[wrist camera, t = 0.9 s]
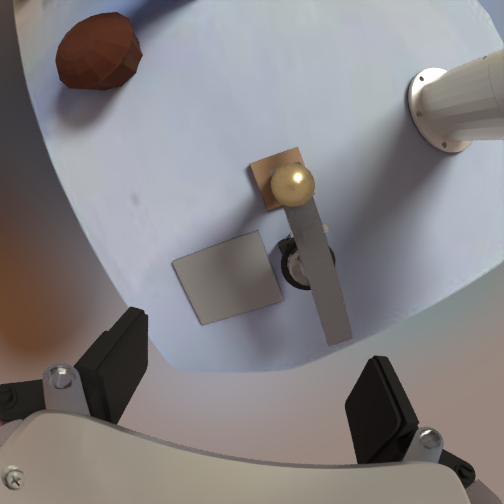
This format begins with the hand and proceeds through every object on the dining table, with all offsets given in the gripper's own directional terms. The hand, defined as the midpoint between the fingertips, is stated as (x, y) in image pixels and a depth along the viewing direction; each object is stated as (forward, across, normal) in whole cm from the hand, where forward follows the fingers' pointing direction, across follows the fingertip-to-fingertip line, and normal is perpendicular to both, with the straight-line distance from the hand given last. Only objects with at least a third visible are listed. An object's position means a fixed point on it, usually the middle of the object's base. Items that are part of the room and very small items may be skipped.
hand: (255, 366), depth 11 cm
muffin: (+26, +25, -19) cm, 41 cm away
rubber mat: (+26, +3, +8) cm, 27 cm away
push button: (+26, -5, 0) cm, 27 cm away
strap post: (+26, -1, -6) cm, 27 cm away
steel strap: (+15, -4, -1) cm, 16 cm away
